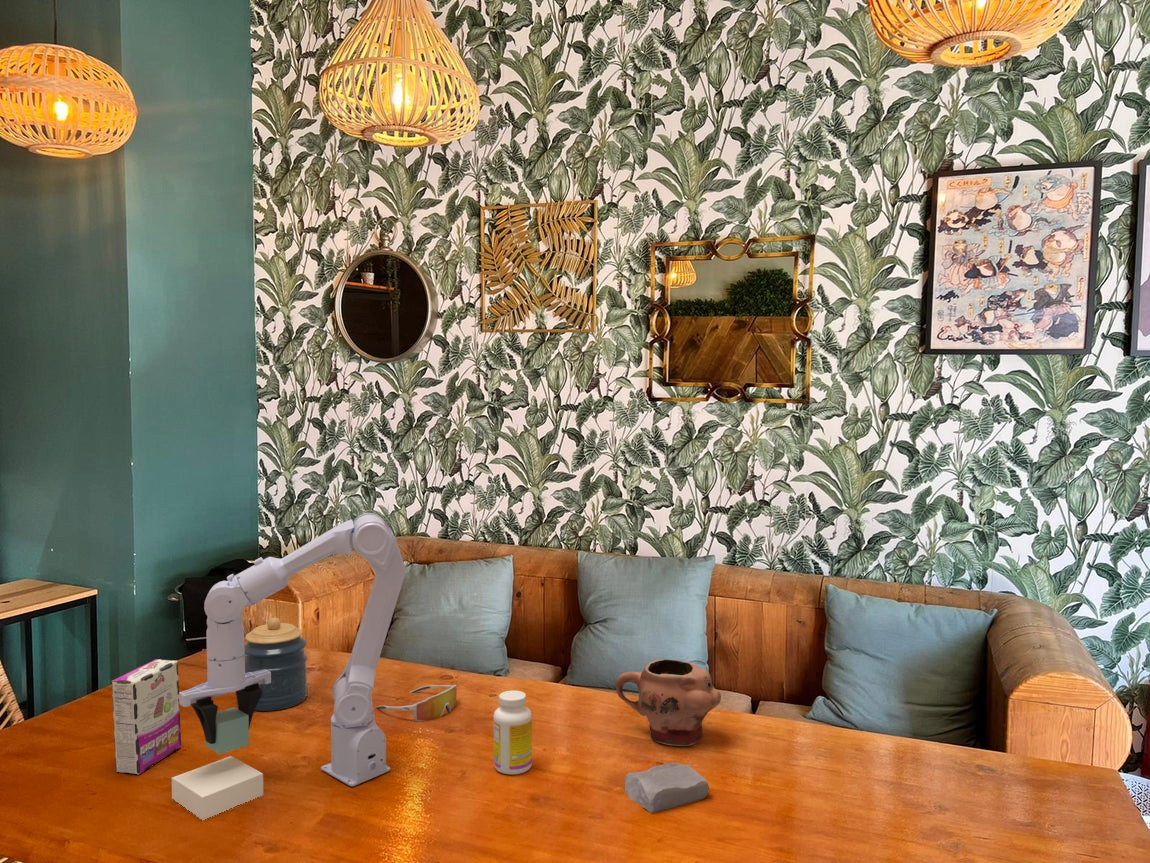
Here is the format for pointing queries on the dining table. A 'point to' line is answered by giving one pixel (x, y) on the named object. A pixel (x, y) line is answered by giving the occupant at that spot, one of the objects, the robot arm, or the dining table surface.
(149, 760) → the candy bar box
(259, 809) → the dining table surface
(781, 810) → the dining table surface
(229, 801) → the cream block
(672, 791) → the stone block
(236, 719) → the teal cube
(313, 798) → the dining table surface
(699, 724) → the sculpted ceramic mug
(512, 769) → the supplement bottle
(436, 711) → the sunglasses
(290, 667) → the canister
